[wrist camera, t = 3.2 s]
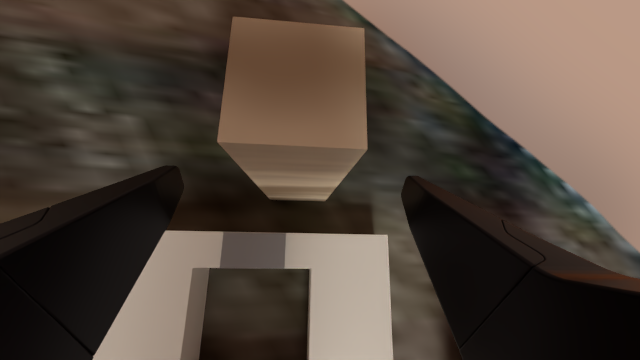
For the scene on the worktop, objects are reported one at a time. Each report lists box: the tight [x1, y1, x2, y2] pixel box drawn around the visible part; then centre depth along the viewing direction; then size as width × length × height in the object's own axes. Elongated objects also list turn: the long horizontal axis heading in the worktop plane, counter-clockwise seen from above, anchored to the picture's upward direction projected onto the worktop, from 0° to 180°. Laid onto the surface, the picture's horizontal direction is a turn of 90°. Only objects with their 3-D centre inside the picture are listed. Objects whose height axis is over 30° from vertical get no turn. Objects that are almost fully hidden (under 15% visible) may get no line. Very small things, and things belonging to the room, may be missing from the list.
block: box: [217, 17, 367, 201], centre depth 14 cm, size 4×4×12 cm
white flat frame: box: [92, 230, 393, 360], centre depth 15 cm, size 12×18×3 cm, turn 89°
